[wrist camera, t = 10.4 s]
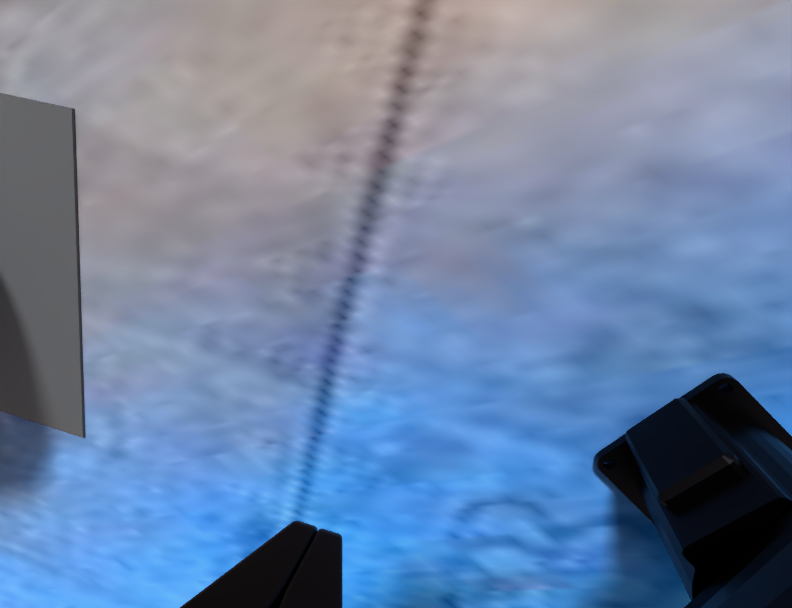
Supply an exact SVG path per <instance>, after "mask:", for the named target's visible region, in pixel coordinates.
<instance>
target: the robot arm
mask: <svg viewBox="0 0 792 608" xmlns="http://www.w3.org/2000/svg"><path fill="white" fill-rule="evenodd" d="M725 383H729V384H728V387H727V388H726V389H724V390H719V387H720V386H721V385H722V384H725ZM608 459H611V460H613V462H612V463H609V464H605V463H604V461H605V460H608ZM595 460H596V464H597V466H598V468H599V470H600V471H601V472H602V473H603V474H604V475H605V476H606V477H607V478H608V479H609V480H610V481H611V482H612V483H613V484H614V485H615V486H616V487H617V488H618V489H619V490H620V491H621V492H622V493H623V494H624V495H625V496H626V497H627V498H628V499H629V500H630V501H632V502H633V503H634V504H635V505H636V506H637V507H638V508H639V509H640V510H641V511H642V512H643V513H644V514H645V515H646V516H647V517H648V518H649V519H650V520H651V521H652V522H653V523H654V524H655V526H656V528H657V530H658V532H659V534H660V536H661V538H662V540H663V543H664V545H665V547H666V549H667V551H668V553H669V555H670V557H671V559H672V561H673V563H674V566H675V568H676V570H677V572H678V574H679V576H680V578H681V580H682V582H683V584H684V586H685V589H686V591H687V593H688V595H689V597H690V599H691V602H690V603H689V604H688V605H687V606H686V607H684V608H792V436H791V435H790V434H789V433H788V432H787V431H786V430H785V429H784V428H783V427H782V426H781V425H780V424H779V423H778V422H777V421H776V420H775V419H774V418H773V417H772V416H771V415H770V414H769V413H768V412H767V411H766V410H765V409H764V408H763V407H762V406H761V405H760V404H759V403H758V401H757V400H756V399H755V398H754V397H753V396H752V395H751V394H750V393H749V392H748V391H747V390H746V389H745V388H744V387H743V386H742V385H741V384H740V383H739V382H738V381H737V380H736V379H734V378H733V377H732V376H730V375H729V374H725V373H721V374H716V375H714V376H712V377H711V378H709V379H708V380H706V381H705V382H703V383H702V384H700V385H699V386H697V387H696V388H694V389H693V390H691V391H689V392H688V393H686V394H685V395H683V396H682V397H680V398H678V399H674V400H673V401H671V402H670V403H668V404H667V405H665V406H664V407H662V408H661V409H659V410H658V411H656V412H655V413H653V414H652V415H650V416H649V417H647V418H646V419H644V420H643V421H641V422H640V423H638V424H637V425H635V426H634V427H632V428H631V429H629V430H628V431H627V432H626V434H625V435H623V436H622V437H620V438H619V439H617V440H616V441H614V442H613V443H611V444H610V445H608V446H607V447H605V448H604V449H602V450H601V451H599V452H598V453H597V454H596V457H595ZM180 608H342V536H341V535H340V534H338V533H335V532H331V531H328V530H325V529H319V530H317V528H316V527H315V526H313V525H310V524H307V523H304V522H301V521H294V522H292V523H291V524H289V525H288V526H287V527H285V528H284V529H283V530H281V531H280V532H279V533H278V534H276V535H275V536H274V537H272V538H271V539H270V540H268V541H267V542H266V543H264V544H263V545H262V546H260V547H259V548H258V549H256V550H255V551H254V552H253V553H251V554H250V555H249V556H247V557H246V558H245V559H243V560H242V561H241V562H239V563H238V564H237V565H235V566H234V567H233V568H231V569H230V570H229V571H228V572H226V573H225V574H224V575H222V576H221V577H220V578H218V579H217V580H216V581H214V582H213V583H212V584H210V585H209V586H208V587H206V588H205V589H204V590H203V591H201V592H200V593H199V594H197V595H196V596H195V597H193V598H192V599H191V600H189V601H188V602H187V603H185V604H184V605H183V606H182V607H180Z"/></svg>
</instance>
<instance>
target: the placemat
mask: <svg viewBox="0 0 792 608" xmlns="http://www.w3.org/2000/svg"><path fill="white" fill-rule="evenodd" d="M0 411H3V412H6V413H9V414H12V415H15V416H18V417H21V418H24V419H27V420H31V421H34V422H37V423H40V424H43V425H46V426H49V427H52V428H55V429H58V430H61V431H64V432H67V433H70V434H73V435H77V436H80V437H85V418H84V387H83V356H82V325H81V293H80V262H79V231H78V200H77V169H76V138H75V109H73V108H68V107H63V106H58V105H54V104H49V103H44V102H40V101H35V100H30V99H26V98H21V97H16V96H12V95H7V94H2V93H0Z"/></svg>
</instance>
